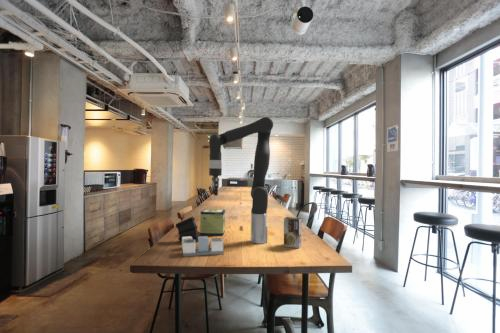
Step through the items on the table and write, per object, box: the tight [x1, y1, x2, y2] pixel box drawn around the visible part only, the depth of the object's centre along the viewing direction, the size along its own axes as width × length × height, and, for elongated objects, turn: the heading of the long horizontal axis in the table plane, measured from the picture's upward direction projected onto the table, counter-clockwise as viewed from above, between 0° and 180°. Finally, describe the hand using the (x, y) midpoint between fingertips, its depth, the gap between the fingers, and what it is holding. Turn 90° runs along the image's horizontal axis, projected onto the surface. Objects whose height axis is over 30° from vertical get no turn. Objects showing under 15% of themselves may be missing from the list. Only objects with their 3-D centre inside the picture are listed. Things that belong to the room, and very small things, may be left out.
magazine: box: [175, 216, 200, 244], centre depth 155 cm, size 4×13×15 cm, turn 81°
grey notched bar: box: [182, 237, 224, 258], centre depth 135 cm, size 20×7×7 cm, turn 104°
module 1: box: [181, 236, 193, 250], centre depth 143 cm, size 5×4×6 cm
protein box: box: [199, 209, 226, 237], centre depth 176 cm, size 10×16×16 cm
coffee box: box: [283, 216, 302, 249], centre depth 150 cm, size 9×6×16 cm
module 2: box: [197, 235, 209, 252], centre depth 135 cm, size 5×4×7 cm
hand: (215, 194), depth 157 cm, fingers open, 8 cm apart
